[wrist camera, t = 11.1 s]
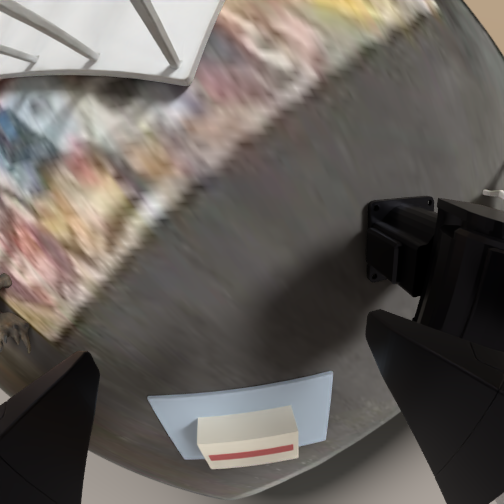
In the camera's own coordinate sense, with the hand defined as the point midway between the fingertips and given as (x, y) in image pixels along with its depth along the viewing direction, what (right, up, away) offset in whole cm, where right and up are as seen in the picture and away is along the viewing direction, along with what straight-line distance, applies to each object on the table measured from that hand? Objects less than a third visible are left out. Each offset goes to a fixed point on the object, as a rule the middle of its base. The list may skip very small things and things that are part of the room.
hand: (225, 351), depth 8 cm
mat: (0, -16, +18) cm, 24 cm away
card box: (0, -16, +18) cm, 24 cm away
